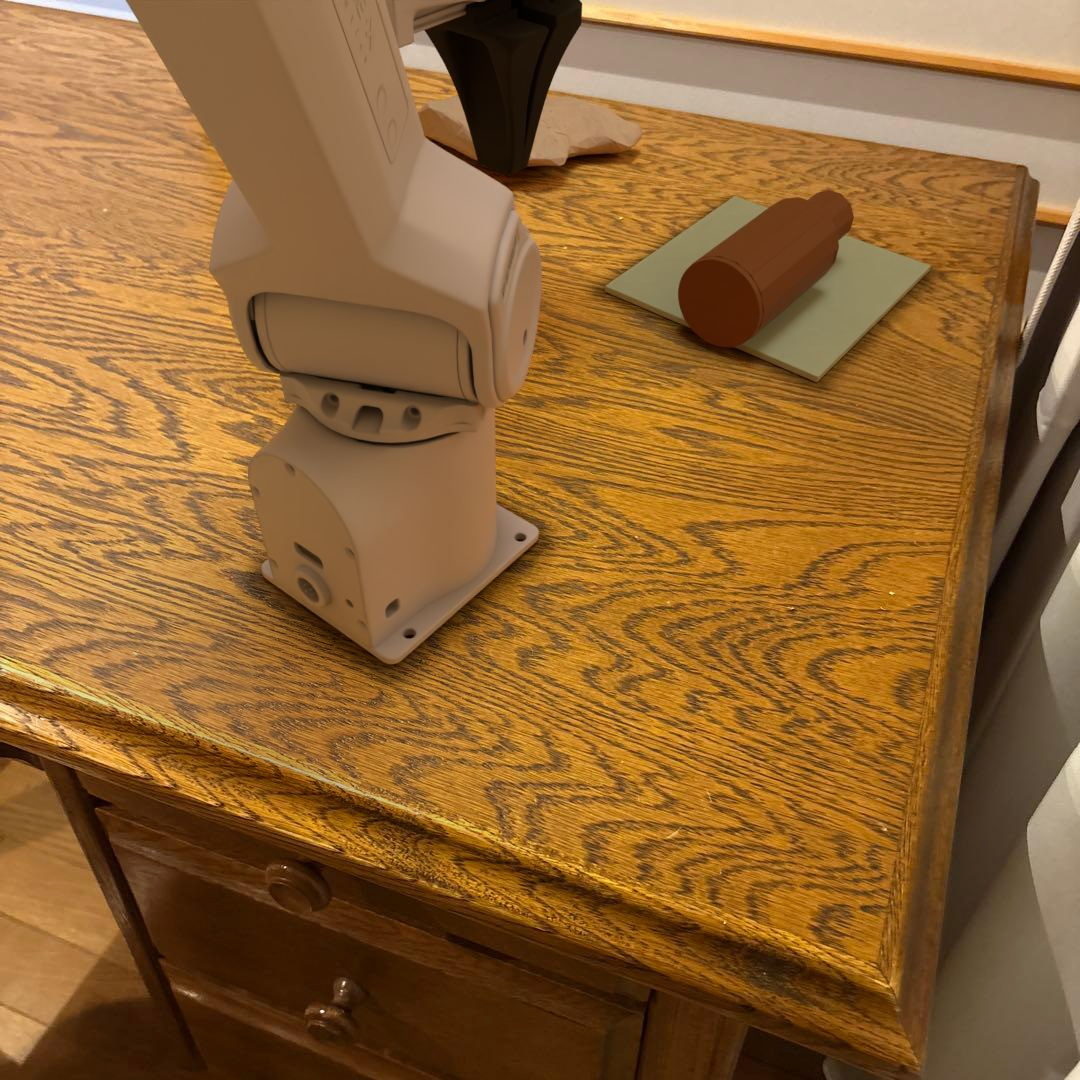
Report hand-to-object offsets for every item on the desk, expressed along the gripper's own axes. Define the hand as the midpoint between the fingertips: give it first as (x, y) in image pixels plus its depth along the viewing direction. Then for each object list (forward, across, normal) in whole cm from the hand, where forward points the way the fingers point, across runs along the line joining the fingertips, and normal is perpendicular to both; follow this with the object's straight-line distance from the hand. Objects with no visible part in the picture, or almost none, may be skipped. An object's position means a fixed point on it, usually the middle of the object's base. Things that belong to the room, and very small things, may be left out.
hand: (502, 165), depth 47 cm
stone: (+11, -21, -15) cm, 28 cm away
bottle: (+8, -7, +9) cm, 14 cm away
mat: (+10, -16, +8) cm, 21 cm away
